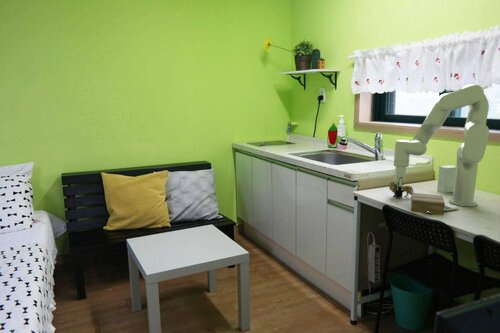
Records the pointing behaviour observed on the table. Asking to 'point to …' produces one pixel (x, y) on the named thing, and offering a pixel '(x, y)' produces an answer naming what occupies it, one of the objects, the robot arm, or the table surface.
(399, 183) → the robot arm
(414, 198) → the walnut box
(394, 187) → the lion figurine
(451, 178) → the skincare box
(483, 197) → the table surface
